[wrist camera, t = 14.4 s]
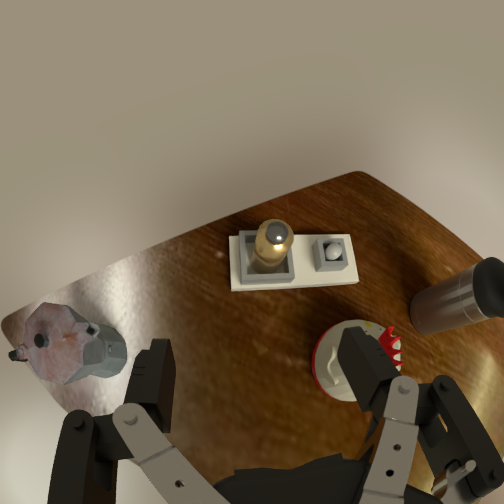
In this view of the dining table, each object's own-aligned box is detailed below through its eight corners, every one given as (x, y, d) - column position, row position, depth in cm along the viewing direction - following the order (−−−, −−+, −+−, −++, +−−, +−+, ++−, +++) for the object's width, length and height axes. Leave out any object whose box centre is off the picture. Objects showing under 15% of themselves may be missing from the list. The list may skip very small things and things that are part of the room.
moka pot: (153, 364, 38) (98, 367, 20) (80, 392, 34) (4, 401, 16) (130, 310, 41) (69, 273, 22) (61, 341, 37) (-16, 323, 18)
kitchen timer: (379, 317, 44) (432, 298, 31) (385, 390, 39) (440, 395, 25) (308, 325, 43) (346, 308, 29) (313, 405, 38) (353, 424, 24)
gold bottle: (277, 247, 46) (293, 214, 35) (280, 274, 44) (298, 248, 34) (249, 247, 45) (257, 214, 35) (251, 275, 43) (260, 249, 33)
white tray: (346, 237, 50) (358, 224, 44) (355, 283, 46) (369, 274, 41) (229, 239, 47) (229, 225, 42) (231, 290, 44) (232, 281, 39)
